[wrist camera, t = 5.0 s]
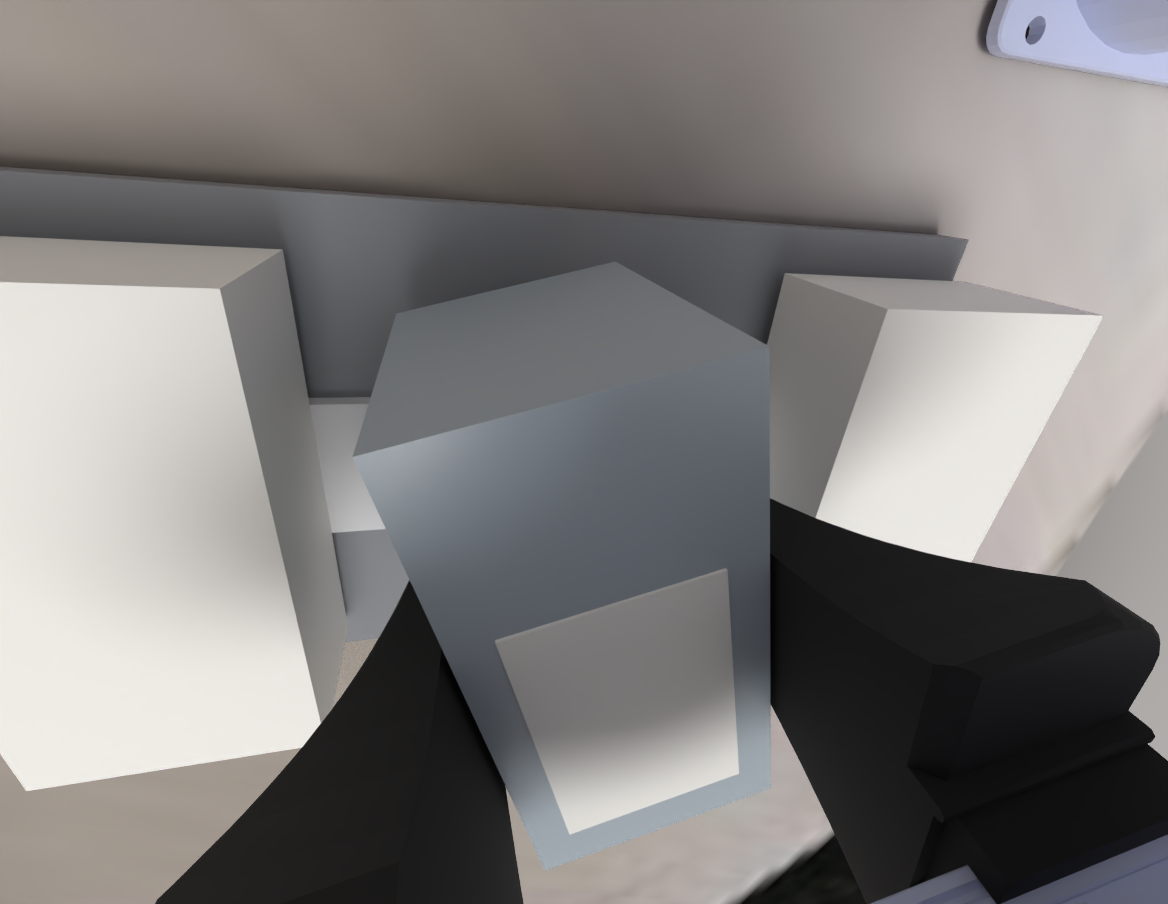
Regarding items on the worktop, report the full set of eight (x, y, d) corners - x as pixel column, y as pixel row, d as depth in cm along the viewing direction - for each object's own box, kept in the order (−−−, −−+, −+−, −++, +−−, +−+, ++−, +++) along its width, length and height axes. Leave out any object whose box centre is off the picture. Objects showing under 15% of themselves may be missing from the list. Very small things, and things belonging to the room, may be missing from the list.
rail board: (938, 234, 15) (1130, 266, 11) (816, 567, 21) (911, 671, 16) (-45, 163, 10) (-409, 171, 6) (152, 637, 15) (46, 818, 11)
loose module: (615, 261, 11) (772, 348, 6) (661, 581, 15) (772, 790, 10) (396, 313, 10) (352, 460, 5) (509, 628, 15) (545, 873, 10)
